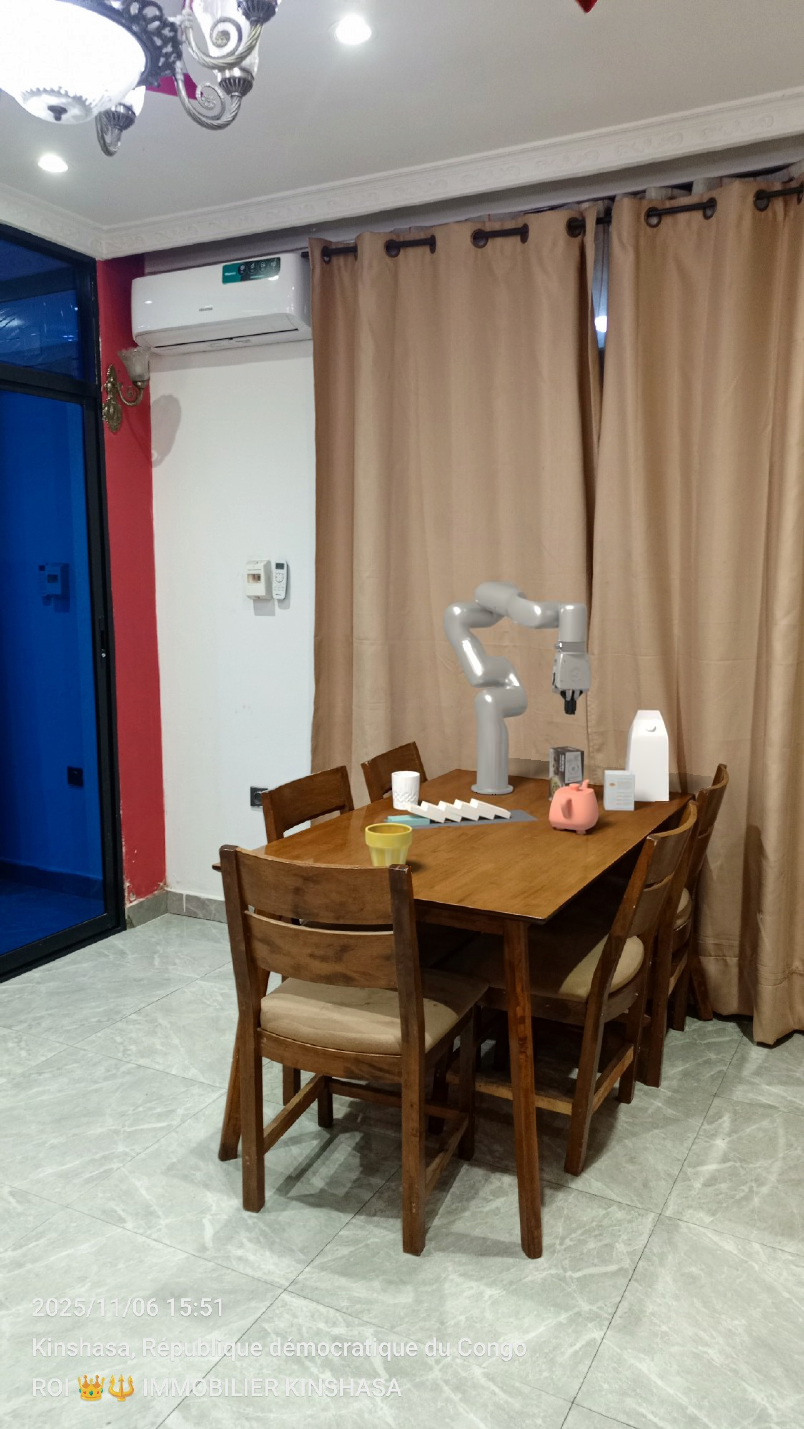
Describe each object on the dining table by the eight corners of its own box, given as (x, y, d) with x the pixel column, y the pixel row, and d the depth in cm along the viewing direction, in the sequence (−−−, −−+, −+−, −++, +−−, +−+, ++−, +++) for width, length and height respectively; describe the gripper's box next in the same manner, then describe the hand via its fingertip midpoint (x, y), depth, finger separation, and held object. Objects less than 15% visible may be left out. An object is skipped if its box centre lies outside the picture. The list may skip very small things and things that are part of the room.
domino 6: (501, 814, 262) (469, 803, 259) (503, 808, 262) (471, 798, 259) (508, 818, 258) (476, 807, 254) (510, 813, 258) (478, 802, 254)
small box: (631, 806, 274) (632, 770, 272) (634, 811, 268) (635, 774, 267) (602, 805, 275) (604, 769, 273) (605, 810, 269) (606, 773, 268)
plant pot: (388, 861, 220) (388, 819, 219) (421, 870, 213) (422, 828, 212) (355, 871, 213) (355, 828, 212) (389, 881, 206) (389, 836, 204)
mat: (382, 821, 257) (382, 819, 257) (521, 811, 268) (521, 809, 268) (394, 832, 245) (394, 830, 245) (538, 821, 256) (538, 820, 256)
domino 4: (470, 816, 260) (438, 806, 257) (472, 810, 260) (440, 800, 257) (477, 821, 255) (443, 810, 252) (479, 815, 255) (446, 804, 252)
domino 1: (423, 819, 256) (387, 822, 253) (423, 814, 256) (387, 816, 253) (429, 824, 251) (392, 827, 249) (429, 818, 251) (392, 821, 248)
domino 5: (486, 815, 261) (453, 804, 258) (488, 809, 261) (455, 799, 258) (492, 819, 256) (460, 809, 253) (495, 814, 256) (462, 803, 253)
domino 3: (453, 817, 258) (420, 806, 255) (455, 812, 258) (422, 800, 255) (459, 822, 254) (426, 810, 251) (461, 816, 254) (428, 805, 251)
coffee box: (583, 806, 274) (585, 750, 272) (564, 808, 271) (565, 752, 269) (566, 799, 282) (568, 745, 280) (547, 801, 280) (549, 746, 278)
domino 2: (437, 818, 257) (404, 807, 254) (439, 813, 257) (406, 801, 254) (443, 823, 252) (409, 811, 249) (445, 817, 252) (411, 805, 249)
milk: (663, 793, 291) (667, 708, 287) (668, 801, 280) (672, 713, 276) (623, 791, 293) (626, 707, 289) (626, 800, 281) (629, 712, 278)
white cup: (385, 808, 271) (385, 773, 270) (406, 804, 276) (406, 769, 275) (404, 813, 265) (404, 777, 264) (425, 809, 271) (425, 774, 269)
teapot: (585, 840, 238) (586, 793, 236) (539, 835, 243) (540, 788, 242) (607, 823, 255) (609, 778, 254) (564, 817, 261) (565, 774, 259)
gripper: (552, 649, 258) (550, 717, 261) (602, 648, 262) (600, 715, 265) (541, 647, 266) (539, 713, 268) (590, 646, 270) (588, 711, 272)
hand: (570, 714), depth 267 cm, fingers closed
